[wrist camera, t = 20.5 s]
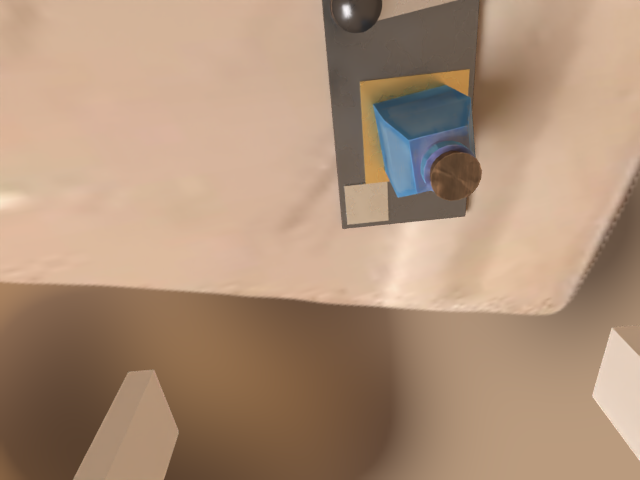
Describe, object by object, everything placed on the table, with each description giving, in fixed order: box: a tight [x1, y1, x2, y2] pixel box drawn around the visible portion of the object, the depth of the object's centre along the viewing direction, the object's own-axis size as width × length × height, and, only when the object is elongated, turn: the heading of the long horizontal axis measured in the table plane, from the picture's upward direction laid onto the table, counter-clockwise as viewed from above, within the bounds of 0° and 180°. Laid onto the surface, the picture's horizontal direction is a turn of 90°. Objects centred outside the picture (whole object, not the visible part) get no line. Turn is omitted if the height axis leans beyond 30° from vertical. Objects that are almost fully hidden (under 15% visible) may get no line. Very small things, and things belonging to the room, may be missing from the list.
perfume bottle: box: [373, 85, 482, 201], centre depth 31 cm, size 6×6×12 cm
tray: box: [322, 0, 479, 229], centre depth 36 cm, size 22×12×2 cm, turn 6°
